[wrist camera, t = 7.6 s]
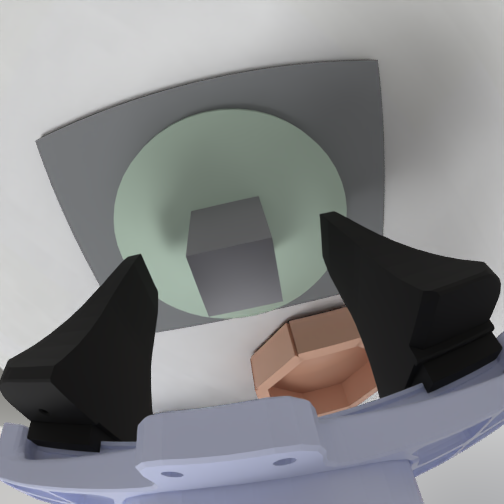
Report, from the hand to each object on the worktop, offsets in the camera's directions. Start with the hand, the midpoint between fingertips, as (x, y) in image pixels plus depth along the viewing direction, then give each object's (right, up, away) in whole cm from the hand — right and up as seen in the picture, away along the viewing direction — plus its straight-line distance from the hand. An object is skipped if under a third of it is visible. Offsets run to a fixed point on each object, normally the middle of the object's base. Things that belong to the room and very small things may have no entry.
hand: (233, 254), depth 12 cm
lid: (0, +1, +3) cm, 3 cm away
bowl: (+6, -8, +10) cm, 14 cm away
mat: (0, +2, +3) cm, 4 cm away
